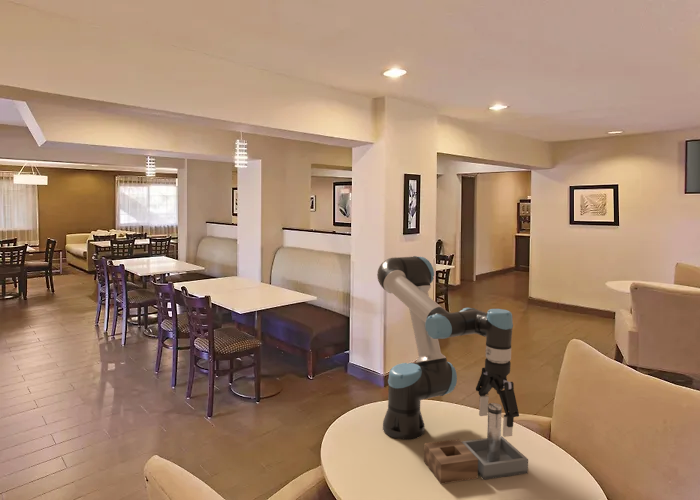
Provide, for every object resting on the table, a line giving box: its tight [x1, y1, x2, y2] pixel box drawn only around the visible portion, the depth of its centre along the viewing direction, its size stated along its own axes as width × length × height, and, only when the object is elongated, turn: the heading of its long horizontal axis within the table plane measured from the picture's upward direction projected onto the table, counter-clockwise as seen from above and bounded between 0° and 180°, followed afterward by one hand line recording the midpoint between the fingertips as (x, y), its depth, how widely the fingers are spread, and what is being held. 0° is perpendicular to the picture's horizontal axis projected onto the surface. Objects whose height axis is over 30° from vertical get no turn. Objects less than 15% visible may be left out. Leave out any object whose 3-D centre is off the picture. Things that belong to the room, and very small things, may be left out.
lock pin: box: [486, 402, 503, 463], centre depth 139 cm, size 4×4×18 cm
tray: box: [460, 435, 529, 480], centre depth 140 cm, size 14×15×4 cm
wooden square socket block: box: [423, 438, 479, 485], centre depth 136 cm, size 12×12×6 cm
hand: (494, 425), depth 139 cm, fingers open, 13 cm apart
